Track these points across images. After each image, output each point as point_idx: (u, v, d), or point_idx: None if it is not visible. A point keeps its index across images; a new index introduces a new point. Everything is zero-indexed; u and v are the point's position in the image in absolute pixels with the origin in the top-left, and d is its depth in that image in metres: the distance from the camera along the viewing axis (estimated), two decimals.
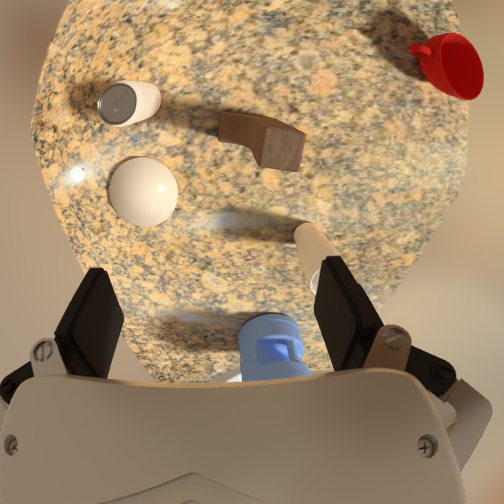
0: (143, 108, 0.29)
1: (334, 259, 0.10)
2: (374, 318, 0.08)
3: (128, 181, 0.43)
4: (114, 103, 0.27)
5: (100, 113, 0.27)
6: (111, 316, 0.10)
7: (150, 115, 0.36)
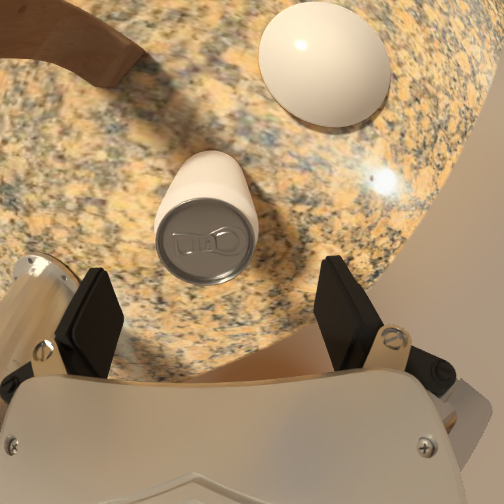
0: (175, 187, 0.15)
1: (334, 259, 0.10)
2: (374, 318, 0.08)
3: (333, 95, 0.21)
4: (211, 248, 0.15)
5: (249, 254, 0.16)
6: (111, 316, 0.10)
7: (207, 155, 0.21)
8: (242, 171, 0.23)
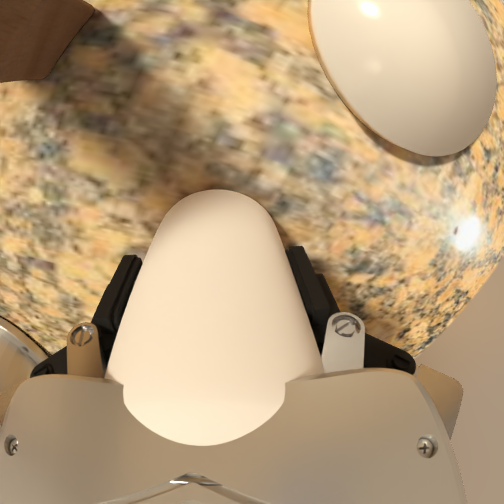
0: (124, 376, 0.05)
1: (295, 249, 0.11)
2: (326, 305, 0.08)
3: (433, 100, 0.10)
4: None
5: None
6: None
7: (210, 210, 0.10)
8: (278, 233, 0.13)
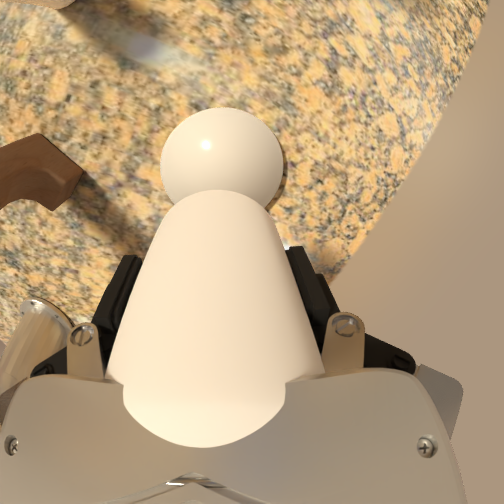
0: (124, 377, 0.05)
1: (295, 249, 0.11)
2: (326, 305, 0.08)
3: None
4: None
5: None
6: None
7: (210, 210, 0.10)
8: (278, 234, 0.13)
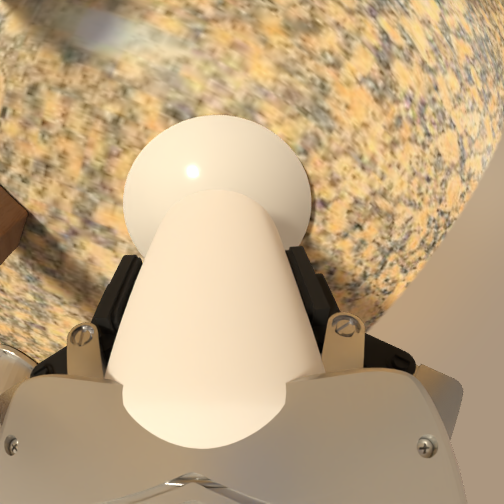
0: (124, 377, 0.05)
1: (295, 249, 0.11)
2: (326, 305, 0.08)
3: None
4: None
5: None
6: None
7: (210, 210, 0.10)
8: (278, 234, 0.13)
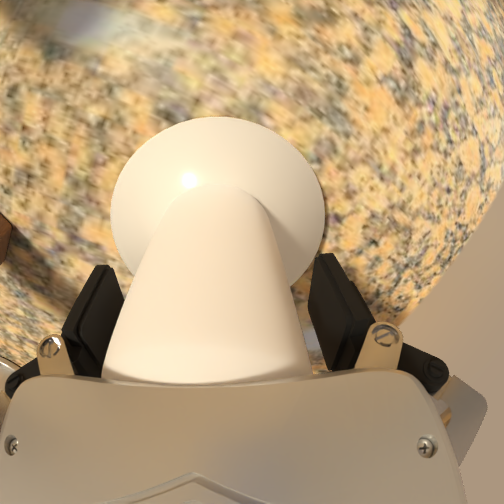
0: (130, 329, 0.06)
1: (327, 257, 0.11)
2: (365, 315, 0.08)
3: None
4: None
5: None
6: (117, 313, 0.10)
7: (209, 200, 0.12)
8: (270, 224, 0.14)
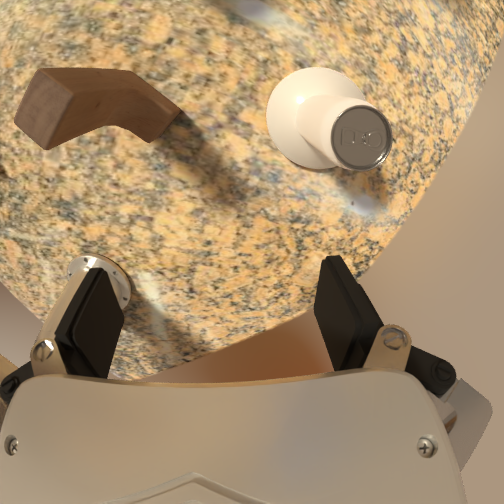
0: (337, 100, 0.19)
1: (334, 259, 0.10)
2: (374, 318, 0.08)
3: None
4: (364, 142, 0.19)
5: (386, 151, 0.20)
6: (111, 316, 0.10)
7: None
8: None
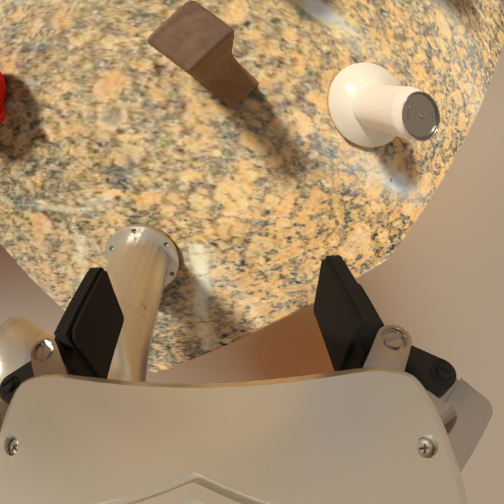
0: (401, 87, 0.22)
1: (334, 259, 0.10)
2: (374, 318, 0.08)
3: None
4: (422, 119, 0.22)
5: (435, 127, 0.22)
6: (111, 316, 0.10)
7: None
8: None
